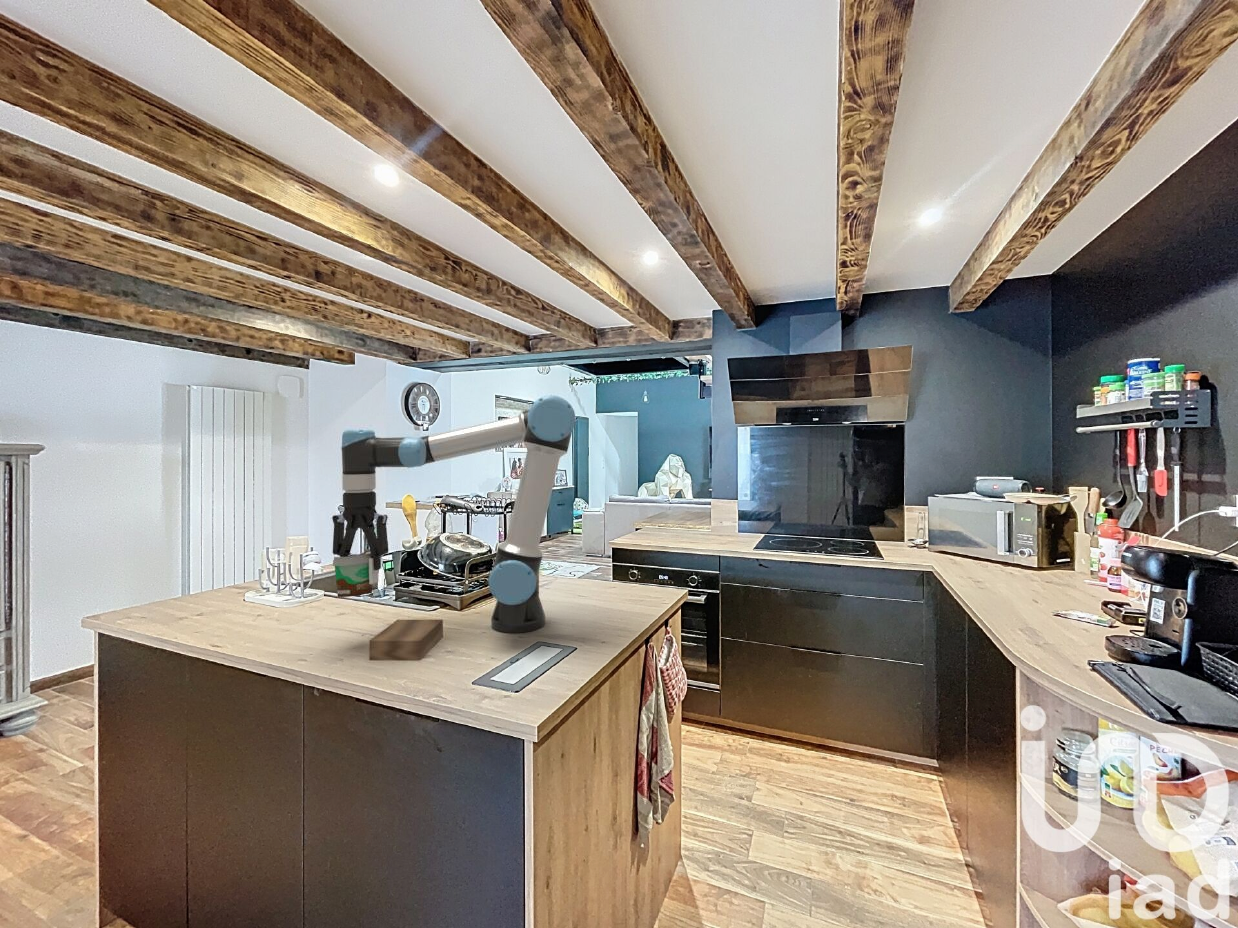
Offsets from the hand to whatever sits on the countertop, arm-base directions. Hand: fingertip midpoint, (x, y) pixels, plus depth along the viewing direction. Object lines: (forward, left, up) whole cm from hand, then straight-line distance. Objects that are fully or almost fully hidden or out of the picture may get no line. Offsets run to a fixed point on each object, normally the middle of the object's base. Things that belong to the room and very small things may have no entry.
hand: (361, 582), depth 133 cm
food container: (0, 0, -3) cm, 3 cm away
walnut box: (-12, -1, -17) cm, 21 cm away
